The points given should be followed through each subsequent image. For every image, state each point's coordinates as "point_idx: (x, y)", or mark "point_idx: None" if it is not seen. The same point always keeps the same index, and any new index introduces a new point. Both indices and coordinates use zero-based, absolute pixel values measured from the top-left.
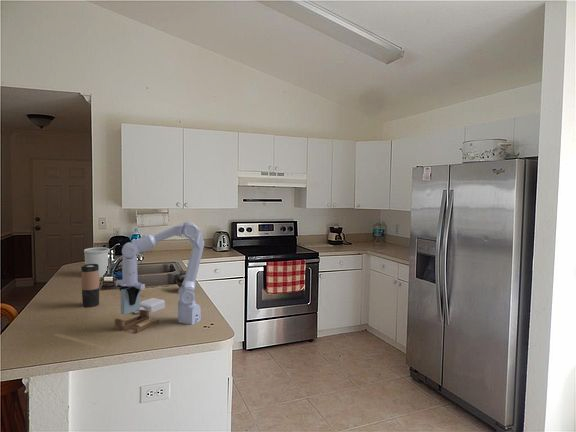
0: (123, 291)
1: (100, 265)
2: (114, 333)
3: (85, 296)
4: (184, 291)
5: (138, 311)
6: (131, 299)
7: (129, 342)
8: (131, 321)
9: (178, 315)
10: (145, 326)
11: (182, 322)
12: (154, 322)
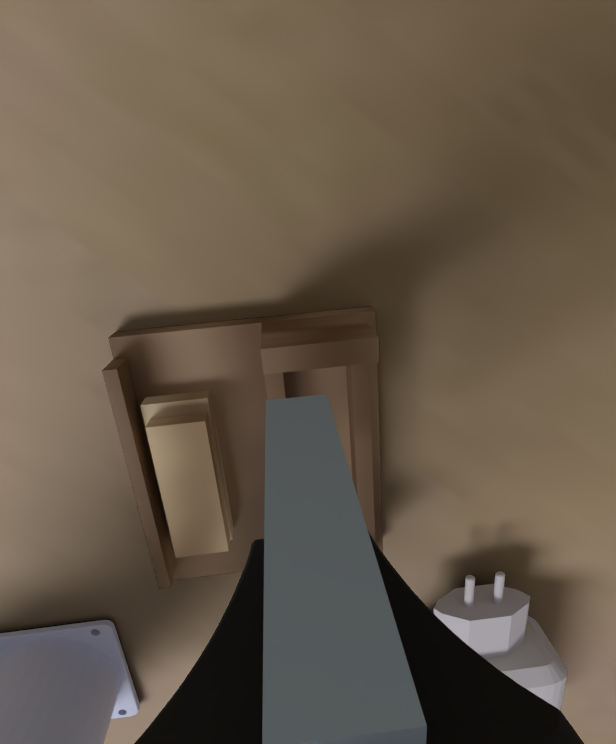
0: (295, 695)
1: None
2: (317, 275)
3: None
4: None
5: (464, 603)
6: (230, 612)
7: (23, 218)
8: (354, 469)
9: (49, 696)
10: (126, 455)
11: (22, 652)
12: (149, 541)
